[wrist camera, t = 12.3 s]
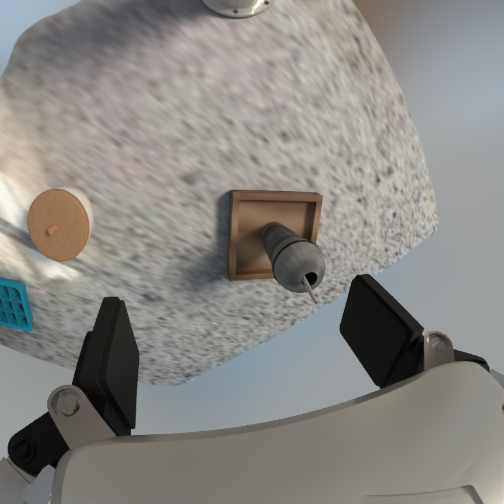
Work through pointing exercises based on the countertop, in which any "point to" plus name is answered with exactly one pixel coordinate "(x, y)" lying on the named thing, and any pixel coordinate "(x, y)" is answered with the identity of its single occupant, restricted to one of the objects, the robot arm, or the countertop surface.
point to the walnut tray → (256, 217)
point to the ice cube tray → (14, 305)
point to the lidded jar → (60, 222)
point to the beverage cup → (293, 259)
